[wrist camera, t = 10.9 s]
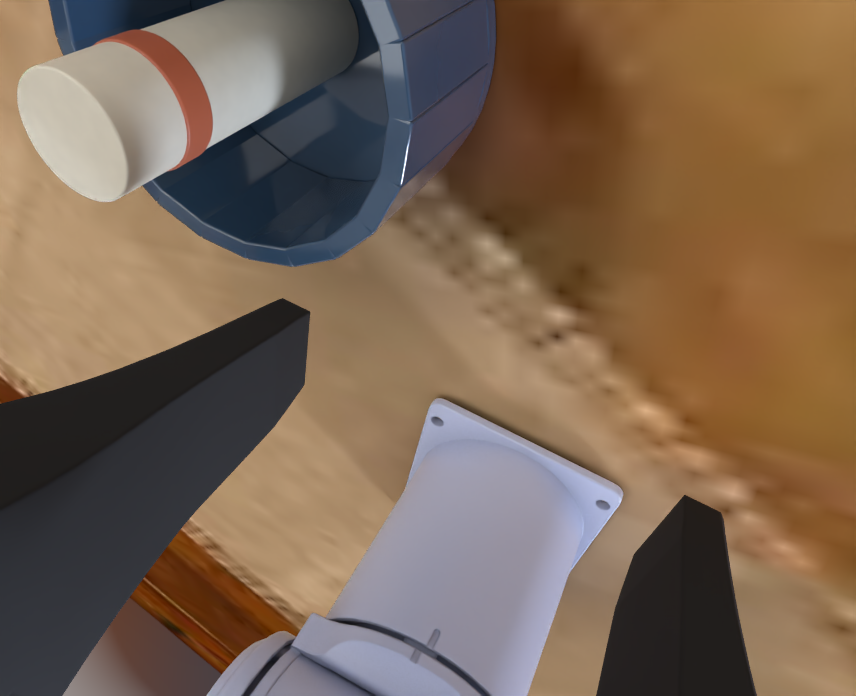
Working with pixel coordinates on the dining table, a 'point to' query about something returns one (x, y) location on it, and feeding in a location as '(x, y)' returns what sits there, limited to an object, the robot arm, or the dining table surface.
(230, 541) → the dining table surface
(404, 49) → the holder
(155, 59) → the dowel
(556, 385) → the dining table surface
